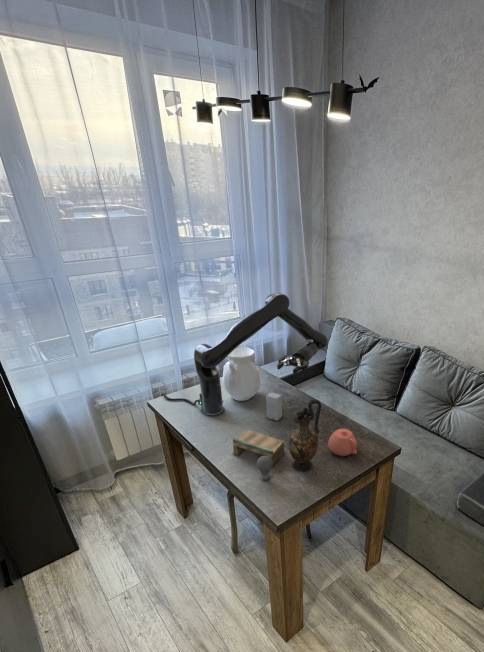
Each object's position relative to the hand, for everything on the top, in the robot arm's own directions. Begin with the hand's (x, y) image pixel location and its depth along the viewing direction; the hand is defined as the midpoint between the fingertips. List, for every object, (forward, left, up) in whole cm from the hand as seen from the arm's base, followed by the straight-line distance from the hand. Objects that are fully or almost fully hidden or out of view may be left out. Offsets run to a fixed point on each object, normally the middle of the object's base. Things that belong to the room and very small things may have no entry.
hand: (285, 369), depth 185 cm
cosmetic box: (-1, -9, -22) cm, 24 cm away
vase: (+27, -35, -22) cm, 49 cm away
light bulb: (+17, -48, -22) cm, 55 cm away
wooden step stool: (+7, -36, -21) cm, 42 cm away
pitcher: (-25, +1, -22) cm, 33 cm away
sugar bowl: (+38, -19, -22) cm, 47 cm away
